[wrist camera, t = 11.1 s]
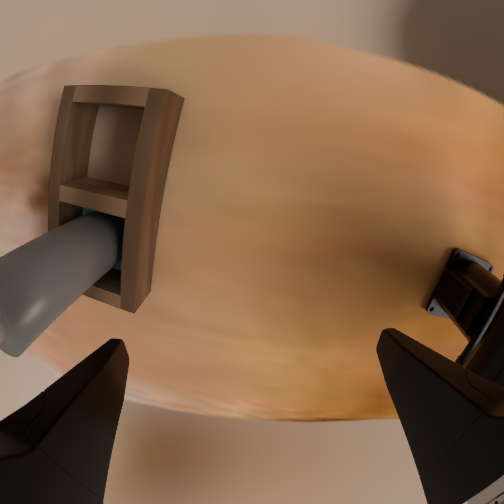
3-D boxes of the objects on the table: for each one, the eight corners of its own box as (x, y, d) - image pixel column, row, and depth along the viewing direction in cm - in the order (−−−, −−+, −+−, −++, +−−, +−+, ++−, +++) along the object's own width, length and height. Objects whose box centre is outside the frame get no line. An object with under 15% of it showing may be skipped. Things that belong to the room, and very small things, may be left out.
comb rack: (184, 98, 17) (167, 89, 14) (150, 291, 23) (134, 313, 20) (90, 90, 17) (64, 85, 13) (73, 264, 22) (51, 281, 19)
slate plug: (141, 227, 20) (0, 338, 7) (120, 271, 22) (7, 389, 8) (98, 196, 20) (-55, 267, 6) (80, 241, 21) (-45, 330, 7)
